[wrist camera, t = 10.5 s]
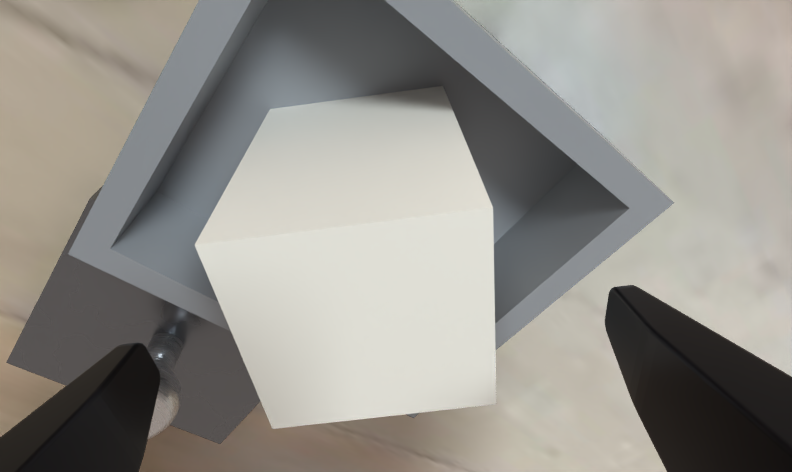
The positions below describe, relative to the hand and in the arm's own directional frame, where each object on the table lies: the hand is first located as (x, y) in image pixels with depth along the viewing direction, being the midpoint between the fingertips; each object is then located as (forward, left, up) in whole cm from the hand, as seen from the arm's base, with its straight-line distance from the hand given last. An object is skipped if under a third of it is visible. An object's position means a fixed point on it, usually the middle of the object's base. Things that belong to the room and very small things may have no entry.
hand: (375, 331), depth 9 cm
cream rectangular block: (0, 0, -7) cm, 7 cm away
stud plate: (-10, +2, -8) cm, 13 cm away
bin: (0, 0, -8) cm, 8 cm away
